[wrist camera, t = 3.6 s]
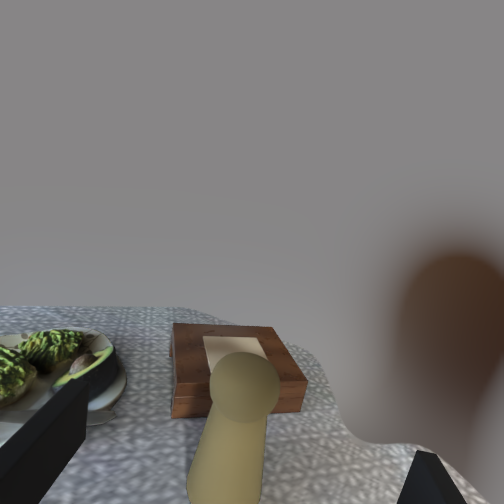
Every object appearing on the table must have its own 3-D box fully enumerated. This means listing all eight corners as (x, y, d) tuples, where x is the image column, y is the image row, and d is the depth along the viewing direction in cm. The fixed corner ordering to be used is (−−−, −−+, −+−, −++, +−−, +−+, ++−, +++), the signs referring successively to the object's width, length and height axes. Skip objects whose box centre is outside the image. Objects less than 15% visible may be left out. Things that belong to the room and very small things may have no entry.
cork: (275, 484, 25) (305, 368, 23) (227, 545, 21) (258, 406, 18) (222, 438, 29) (243, 333, 26) (170, 482, 24) (189, 358, 22)
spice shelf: (300, 412, 34) (308, 379, 33) (171, 418, 30) (176, 381, 29) (266, 351, 45) (272, 325, 44) (169, 349, 41) (173, 321, 40)
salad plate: (-216, 548, 17) (-230, 480, 16) (-114, 362, 30) (-118, 320, 29) (144, 426, 29) (149, 383, 28) (102, 332, 42) (104, 301, 41)
